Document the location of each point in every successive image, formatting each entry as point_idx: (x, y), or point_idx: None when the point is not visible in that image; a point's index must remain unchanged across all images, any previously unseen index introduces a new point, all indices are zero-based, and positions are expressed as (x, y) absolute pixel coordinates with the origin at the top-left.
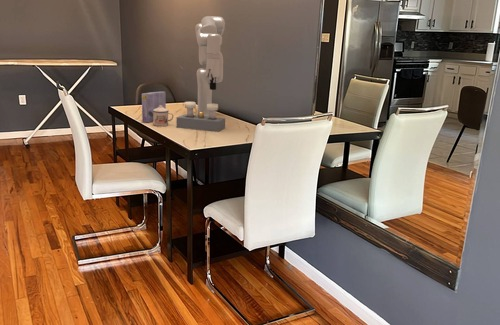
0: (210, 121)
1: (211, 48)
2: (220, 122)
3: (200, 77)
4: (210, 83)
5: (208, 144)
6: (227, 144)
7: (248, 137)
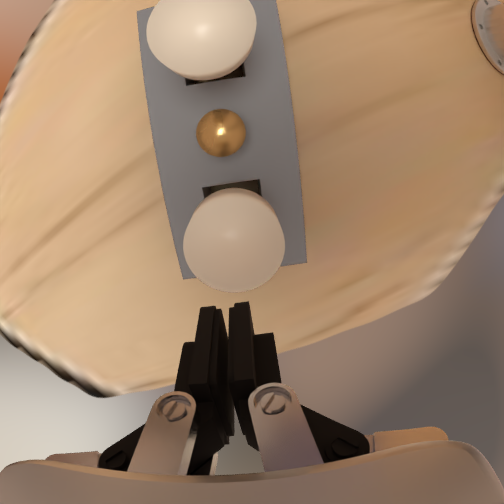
0: (172, 232)
1: None
2: None
3: None
4: (192, 380)
5: (21, 315)
6: (61, 358)
7: None
